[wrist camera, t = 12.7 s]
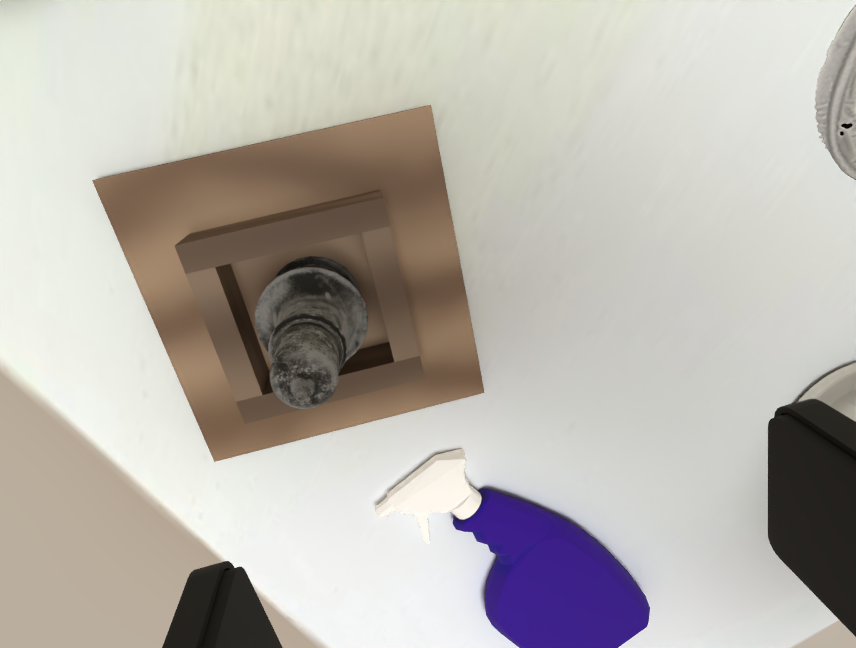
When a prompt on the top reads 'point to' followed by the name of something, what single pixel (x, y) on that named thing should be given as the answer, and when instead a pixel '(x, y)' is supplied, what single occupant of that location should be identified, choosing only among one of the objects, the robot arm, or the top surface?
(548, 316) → the top surface
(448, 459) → the spray bottle
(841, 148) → the carved oval dish
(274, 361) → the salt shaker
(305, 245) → the walnut holder
